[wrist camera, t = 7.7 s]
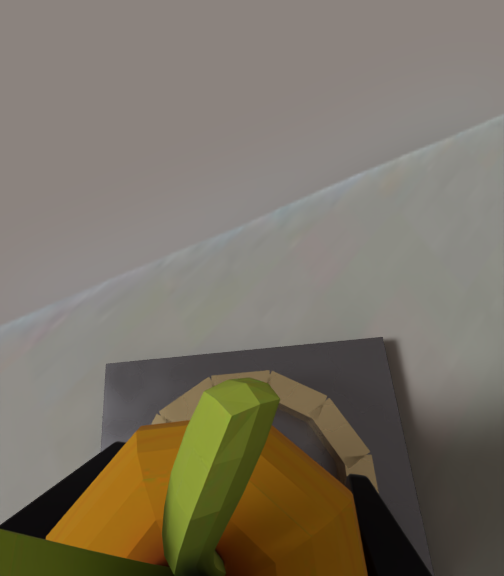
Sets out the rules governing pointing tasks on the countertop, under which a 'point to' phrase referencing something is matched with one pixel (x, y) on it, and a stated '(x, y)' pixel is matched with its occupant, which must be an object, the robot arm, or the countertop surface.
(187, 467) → the carrot
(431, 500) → the countertop surface
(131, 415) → the collar plate
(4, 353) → the countertop surface
